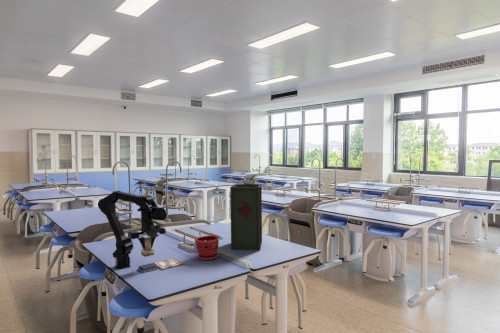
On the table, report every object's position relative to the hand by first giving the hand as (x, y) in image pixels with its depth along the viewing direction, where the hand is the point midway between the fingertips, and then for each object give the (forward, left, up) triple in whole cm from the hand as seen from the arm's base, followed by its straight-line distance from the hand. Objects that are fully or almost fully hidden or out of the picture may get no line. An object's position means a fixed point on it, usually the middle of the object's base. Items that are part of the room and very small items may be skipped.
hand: (147, 248), depth 174 cm
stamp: (0, 0, -3) cm, 3 cm away
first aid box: (+67, -1, -11) cm, 68 cm away
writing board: (+11, +1, -11) cm, 16 cm away
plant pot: (+34, -5, -11) cm, 36 cm away
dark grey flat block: (0, 0, -11) cm, 11 cm away
